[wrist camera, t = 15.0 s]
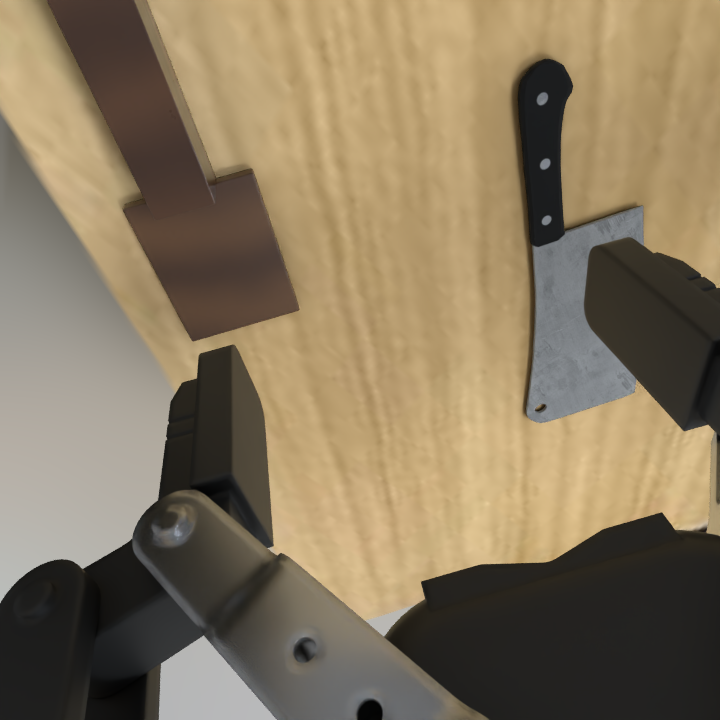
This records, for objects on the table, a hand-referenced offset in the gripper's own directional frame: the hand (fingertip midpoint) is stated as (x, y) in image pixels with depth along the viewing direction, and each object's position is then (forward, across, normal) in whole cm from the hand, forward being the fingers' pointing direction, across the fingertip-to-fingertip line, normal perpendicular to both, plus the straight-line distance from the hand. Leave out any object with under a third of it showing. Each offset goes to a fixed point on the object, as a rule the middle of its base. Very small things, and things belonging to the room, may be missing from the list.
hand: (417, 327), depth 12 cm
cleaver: (+20, -16, +15) cm, 30 cm away
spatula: (+20, +7, -1) cm, 21 cm away
